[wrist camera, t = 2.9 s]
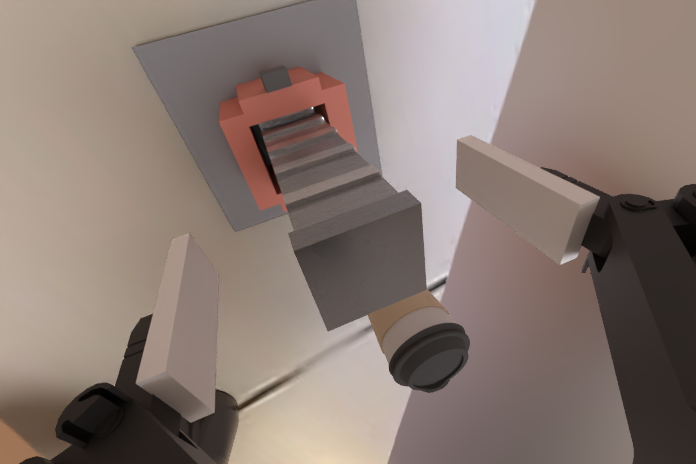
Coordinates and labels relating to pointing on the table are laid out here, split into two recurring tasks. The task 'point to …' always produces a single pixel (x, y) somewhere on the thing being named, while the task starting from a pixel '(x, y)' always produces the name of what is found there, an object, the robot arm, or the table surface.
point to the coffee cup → (420, 342)
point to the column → (344, 220)
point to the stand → (262, 94)
